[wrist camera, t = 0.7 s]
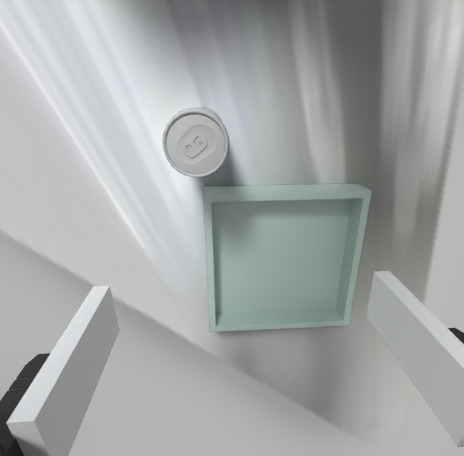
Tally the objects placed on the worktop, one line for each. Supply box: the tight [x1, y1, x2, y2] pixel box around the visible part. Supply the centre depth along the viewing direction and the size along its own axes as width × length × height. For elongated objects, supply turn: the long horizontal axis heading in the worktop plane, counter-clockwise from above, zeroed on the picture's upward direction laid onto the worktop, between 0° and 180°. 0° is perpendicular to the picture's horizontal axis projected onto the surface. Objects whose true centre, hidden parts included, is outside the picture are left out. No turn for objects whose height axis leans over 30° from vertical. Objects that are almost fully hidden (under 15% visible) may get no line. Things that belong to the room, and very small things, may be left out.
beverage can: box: [163, 108, 229, 177], centre depth 26 cm, size 5×5×12 cm
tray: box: [203, 183, 372, 332], centre depth 37 cm, size 18×18×3 cm
